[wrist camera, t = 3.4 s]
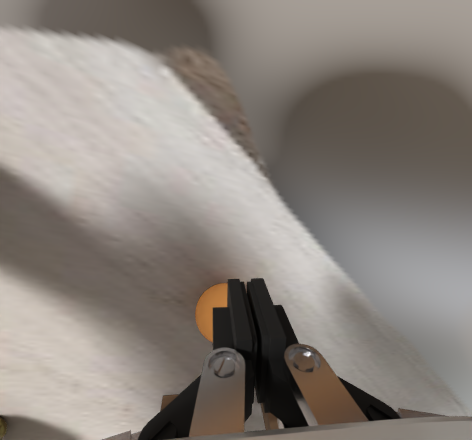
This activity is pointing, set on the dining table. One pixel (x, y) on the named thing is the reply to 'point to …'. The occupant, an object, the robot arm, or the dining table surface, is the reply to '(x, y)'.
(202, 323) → the ball
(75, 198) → the dining table surface
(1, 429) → the rough textured pot
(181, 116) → the dining table surface
